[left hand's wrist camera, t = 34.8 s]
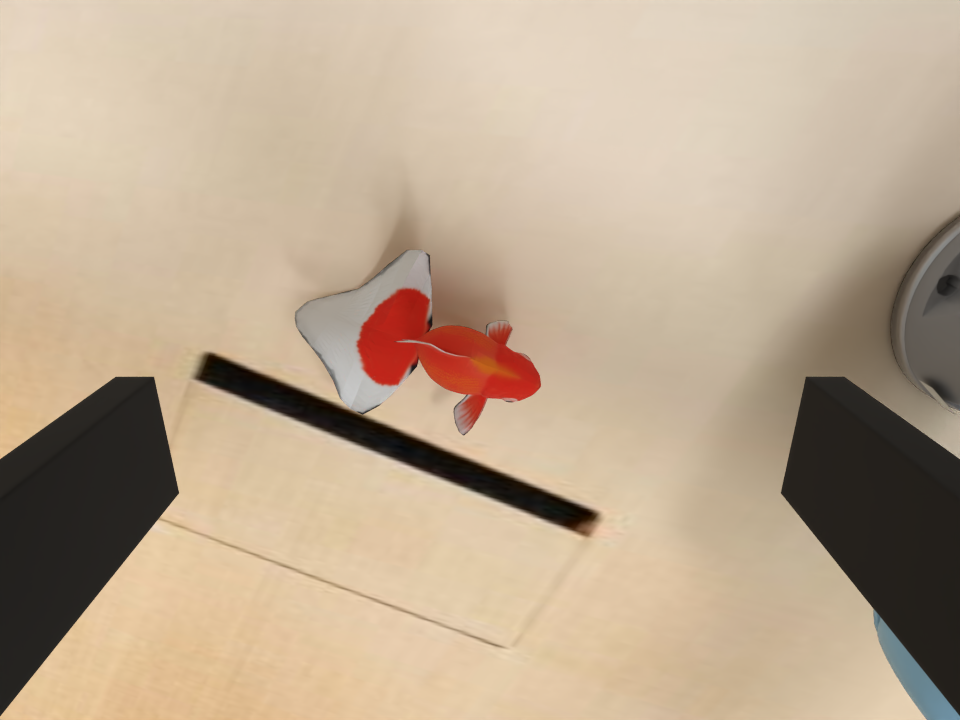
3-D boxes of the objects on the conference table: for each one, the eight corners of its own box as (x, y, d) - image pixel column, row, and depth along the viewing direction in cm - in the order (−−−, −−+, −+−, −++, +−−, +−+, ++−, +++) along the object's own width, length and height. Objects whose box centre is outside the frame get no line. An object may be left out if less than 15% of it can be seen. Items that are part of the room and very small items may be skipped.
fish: (473, 492, 41) (438, 503, 32) (308, 360, 45) (230, 333, 35) (567, 365, 42) (561, 337, 32) (395, 243, 45) (342, 185, 35)
